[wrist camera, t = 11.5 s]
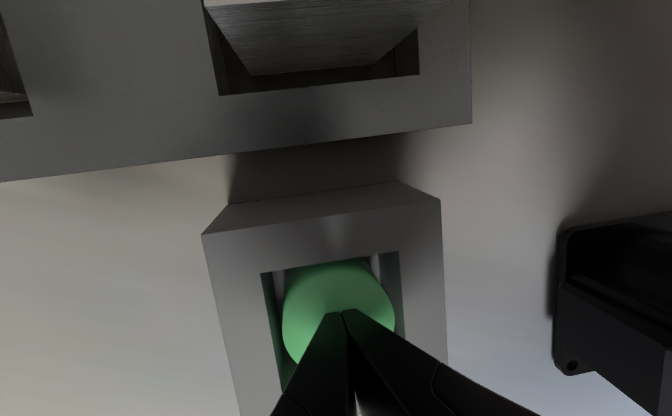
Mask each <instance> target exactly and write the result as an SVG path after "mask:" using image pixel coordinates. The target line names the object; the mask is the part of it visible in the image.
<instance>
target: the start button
mask: <svg viewBox="0 0 672 416" xmlns="http://www.w3.org/2000/svg"><path fill="white" fill-rule="evenodd" d="M353 308H356V309H358V310H359V311H361V312H363V313H364V314H366V315H367V316H369V317H371V318H372V319H374V320H375V321H377V322H379V323H380V324H382V325H383V326H385V327H387V328H388V329H390V330H391V331H393V332H394V326H395V316H394V310H393V307H392V304H391V302H390V300H389V298H388V296H387V295H386V293H385V291H384V290H383V288H382V286H381V285H380V283H379V281H378V280H377V278H376V276H375V275H374V273H373V271H372V270H371V268H370V266H369V265H368V263H367V262H366V260H365V259H364V258H363V257H357V258H350V259H344V260H338V261H332V262H326V263H320V264H313V265H307V266H301V267H295V268H289V269H288V271H287V273H286V276H285V281H284V298H283V322H282V335H283V341H284V344H285V347H286V349H287V351H288V353H289V354H290V356H291V357H292V358H293V360H294V361H295V362H296V363H297V364H298V363H299V361H300V359H301V357H302V355H303V354H304V352H305V350H306V348H307V346H308V344H309V342H310V341H311V339H312V337H313V335H314V333H315V331H316V329H317V328H318V326H319V324H320V322H321V320H322V318H323V316H324V315H325V314H326V313H330V312H336V311H339V312H340V313H341V311H343V310H347V309H353Z"/></svg>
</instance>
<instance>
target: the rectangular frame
mask: <svg viewBox="0 0 672 416" xmlns="http://www.w3.org/2000/svg"><path fill="white" fill-rule="evenodd" d="M0 11H1V14H2V18H3V21H4V24H5V27H6V30H7V33H8V37H9V40H10V43H11V46H12V49H13V52H14V56H15V59H16V62H17V65H18V68H19V71H20V75H21V78H22V81H23V84H24V87H25V90H26V94H27V97H28V100H29V103H30V106H31V109H32V113H33V116H30V117H20V118H11V119H2V120H0V182H7V181H15V180H24V179H32V178H40V177H48V176H56V175H64V174H72V173H80V172H88V171H96V170H104V169H112V168H120V167H128V166H136V165H144V164H152V163H160V162H168V161H176V160H184V159H192V158H200V157H208V156H216V155H224V154H232V153H240V152H248V151H256V150H264V149H272V148H280V147H288V146H296V145H304V144H312V143H320V142H328V141H336V140H344V139H352V138H360V137H368V136H376V135H384V134H392V133H400V132H408V131H416V130H424V129H432V128H440V127H448V126H456V125H464V124H472V93H471V49H470V5H469V0H449V1H448V2H447V3H446V4H445V5H443V6H442V7H441V8H440V9H439V10H437V11H436V12H435V13H434V14H433V15H431V16H430V17H429V18H428V19H427V20H426V21H424V22H423V23H422V24H421V25H420V26H418V27H417V28H416V29H415V30H414V31H412V32H411V33H410V34H409V35H408V36H406V37H405V38H404V39H403V40H402V41H400V42H399V43H398V44H397V45H396V46H395V52H396V66H397V77H394V78H385V79H375V80H366V81H357V82H347V83H338V84H329V85H319V86H310V87H301V88H291V89H282V90H273V91H263V92H254V93H245V94H235V95H230V90H229V85H228V79H227V74H226V68H225V63H224V57H223V52H222V46H221V41H220V35H219V30H218V26H217V24H216V23H215V21H214V20H213V18H212V17H211V15H210V14H209V12H208V11H207V9H206V8H205V5H204V0H0Z"/></svg>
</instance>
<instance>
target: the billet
mask: <svg viewBox="0 0 672 416" xmlns="http://www.w3.org/2000/svg"><path fill="white" fill-rule="evenodd" d="M21 101H29V100H28V97H27V94H26V90H25V87H24V84H23V81H22V78H21V75H20V71H19V68H18V65H17V62H16V59H15V56H14V52H13V49H12V46H11V43H10V40H9V37H8V33H7V30H6V27H5V24H4V21H3V18H2V14H1V11H0V104H3V103H12V102H21Z"/></svg>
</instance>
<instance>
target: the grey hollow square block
mask: <svg viewBox="0 0 672 416" xmlns="http://www.w3.org/2000/svg"><path fill="white" fill-rule="evenodd" d="M201 239H202V244H203V248H204V253H205V257H206V262H207V266H208V271H209V275H210V280H211V284H212V289H213V293H214V298H215V302H216V307H217V311H218V316H219V320H220V325H221V329H222V334H223V338H224V343H225V347H226V352H227V356H228V361H229V366H230V370H231V375H232V379H233V384H234V388H235V393H236V397H237V402H238V406H239V411H240V415H241V416H270V414H271V412H272V411H273V409H274V407H275V406H276V404H277V402H278V400H279V398H280V396H281V395H282V393H283V391H284V389H285V387H286V385H287V383H288V382H289V380H290V378H291V376H292V374H293V372H294V370H295V369H296V367H297V365H298V364H297V363H296V362H295V361H294V360H293V358H292V357H291V356H290V354H289V353H288V351H287V349H286V347H285V344H284V341H283V335H282V322H283V298H284V281H285V276H286V273H287V271H288V269H289V268H295V267H301V266H307V265H313V264H320V263H326V262H332V261H338V260H344V259H350V258H357V257H363V258H364V259H365V260H366V262H367V263H368V265H369V266H370V268H371V270H372V271H373V273H374V275H375V276H376V278H377V280H378V281H379V283H380V285H381V286H382V288H383V290H384V291H385V293H386V295H387V296H388V298H389V300H390V302H391V304H392V307H393V310H394V316H395V326H394V333H396V334H398V335H399V336H401V337H402V338H404V339H406V340H407V341H409V342H410V343H412V344H414V345H415V346H417V347H418V348H420V349H422V350H423V351H425V352H426V353H428V354H430V355H431V356H433V357H434V358H436V359H438V360H439V361H440V362H441V363H444V364H446V365H447V366H448V352H447V331H446V309H445V288H444V266H443V245H442V224H441V202H440V199H438V198H436V197H433V196H431V195H429V194H427V193H424V192H422V191H420V190H417V189H415V188H413V187H410V186H408V185H406V184H404V183H401V182H399V181H395V182H388V183H380V184H373V185H366V186H359V187H352V188H345V189H338V190H331V191H323V192H316V193H309V194H302V195H295V196H288V197H281V198H273V199H266V200H259V201H252V202H245V203H238V204H231V205H227V206H226V207H225V208H224V209H223V210H222V212H221V213H220V214H219V215H218V216H217V217H216V218H215V219H214V221H213V222H212V223H211V224H210V225H209V226H208V227H207V228H206V230H205V231H204V232H203V233H202V234H201ZM355 397H356V395H355ZM356 405H357V415H359V414H361V412H360V409H359V406H358V403H357V399H356Z"/></svg>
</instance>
